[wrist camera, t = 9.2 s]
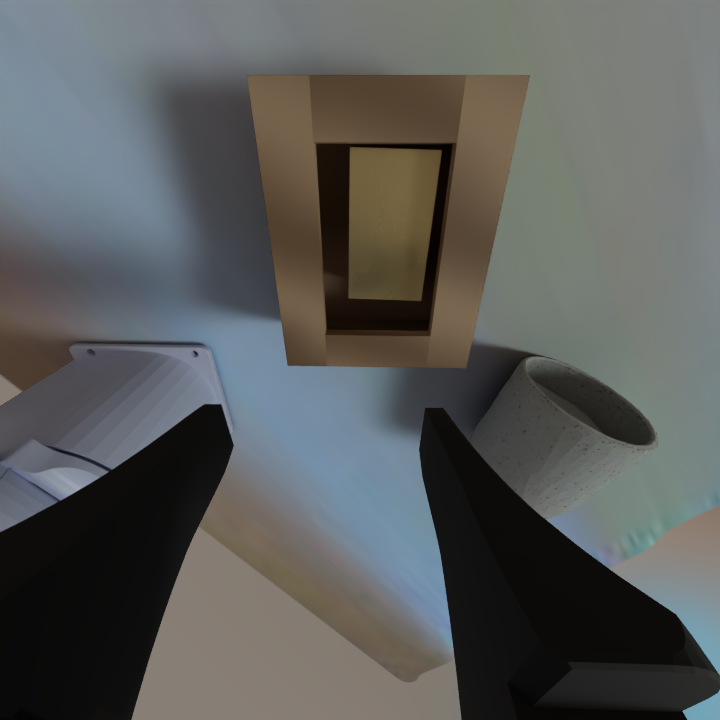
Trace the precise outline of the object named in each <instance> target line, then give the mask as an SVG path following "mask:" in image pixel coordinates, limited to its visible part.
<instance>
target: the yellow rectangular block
mask: <svg viewBox="0 0 720 720" xmlns="http://www.w3.org/2000/svg"><path fill="white" fill-rule="evenodd" d="M441 153H442V150H423V149H393V148H363V147H350V193H349V296H348V298H353V299H381V300H409V301H421V298H422V291H423V284H424V276H425V269H426V262H427V255H428V247H429V240H430V233H431V226H432V218H433V211H434V204H435V197H436V190H437V182H438V175H439V168H440V161H441Z"/></svg>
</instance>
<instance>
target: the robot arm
mask: <svg viewBox="0 0 720 720" xmlns="http://www.w3.org/2000/svg"><path fill="white" fill-rule="evenodd" d="M92 350H93V351H94V352H93V351H92ZM69 351H70V353H71V355H72V357H73V359H74V360H73V361H71V362H70V363H68V364H66V365H65V366H63V367H62V368H60V369H58V370H57V371H55V372H54V373H52V374H51V375H49V376H47V377H46V378H44V379H43V380H41V381H39V382H38V383H36V384H35V385H33V386H31V387H30V388H28V389H27V390H25V391H23V392H22V393H20V394H19V395H17V396H15V397H14V398H12V399H11V400H9V401H7V402H6V403H4V404H3V405H1V406H0V720H131V719H132V715H133V712H134V708H135V705H136V701H137V698H138V694H139V691H140V688H141V684H142V681H143V677H144V674H145V671H146V667H147V664H148V661H149V658H150V654H151V651H152V648H153V645H154V642H155V639H156V636H157V633H158V630H159V627H160V624H161V621H162V618H163V615H164V612H165V609H166V606H167V604H168V601H169V598H170V595H171V592H172V589H173V587H174V584H175V581H176V578H177V576H178V573H179V571H180V568H181V565H182V563H183V560H184V558H185V555H186V552H187V550H188V548H189V545H190V543H191V541H192V538H193V536H194V534H195V532H196V530H197V528H198V526H199V524H200V522H201V520H202V518H203V516H204V514H205V512H206V510H207V508H208V506H209V504H210V502H211V500H212V498H213V496H214V494H215V492H216V489H217V487H218V485H219V483H220V481H221V479H222V477H223V475H224V473H225V470H226V467H227V464H228V462H229V459H230V455H231V452H232V449H233V446H234V445H233V442H232V438H231V435H230V434H231V433H232V431H233V426H232V422H231V419H230V415H229V412H228V408H227V405H226V401H225V398H224V394H223V391H222V387H221V384H220V380H219V377H218V373H217V370H216V366H215V363H214V359H213V356H212V352H211V350H210V349H209V348H208V347H207V346H204V345H157V344H86V343H77V344H74V345H72V346H70V347H69ZM193 351H196V352H197V353H198V354H195V353H194V352H193ZM419 451H420V460H421V468H422V476H423V481H424V485H425V489H426V494H427V498H428V502H429V506H430V510H431V514H432V519H433V523H434V527H435V531H436V535H437V539H438V544H439V549H440V554H441V560H442V567H443V574H444V580H445V587H446V594H447V602H448V609H449V616H450V624H451V632H452V640H453V648H454V656H455V664H456V672H457V681H458V690H459V700H460V709H461V718H462V720H687V718H686V717H685V715H684V714H683V712H682V711H683V710H685V709H687V708H689V707H691V706H693V705H696V704H697V703H700V702H702V701H704V700H706V699H708V698H710V697H712V696H713V695H715V694H716V693H718V691H719V690H720V675H719V674H718V673H717V671H716V669H715V668H714V667H713V665H712V664H711V662H710V661H709V659H708V658H707V656H706V655H705V654H704V652H703V651H702V649H701V648H700V646H699V645H698V644H697V642H696V641H695V639H694V638H693V636H692V635H691V634H690V632H689V631H688V630H687V628H686V627H685V626H684V624H683V623H682V622H681V621H680V619H679V618H678V617H677V615H676V614H674V613H673V612H671V611H670V610H669V609H667V608H666V607H664V606H662V605H661V604H659V603H658V602H657V601H655V600H653V599H652V598H651V597H649V596H648V595H646V594H645V593H643V592H642V591H640V590H639V589H637V588H636V587H634V586H633V585H631V584H630V583H628V582H627V581H625V580H624V579H622V578H621V577H619V576H618V575H617V574H615V573H614V572H612V571H611V570H610V569H608V568H607V567H606V566H604V565H603V564H602V563H600V562H599V561H598V560H596V559H595V558H593V557H592V556H591V555H589V554H588V553H587V552H585V551H584V550H583V549H581V548H580V547H579V546H578V545H576V544H575V543H574V542H572V541H571V540H570V539H569V538H567V537H566V536H565V535H564V534H563V533H561V532H560V531H559V530H558V529H556V528H555V527H554V526H553V525H552V524H550V523H549V522H548V521H547V520H545V519H544V518H543V517H542V516H541V515H540V514H538V513H537V512H536V511H535V510H534V509H533V508H532V507H530V506H529V505H528V504H527V503H526V502H525V501H524V500H523V499H522V498H521V497H520V496H519V495H518V494H517V493H516V492H515V491H514V490H512V489H511V488H510V487H509V486H508V485H507V483H506V482H505V481H504V480H503V479H502V478H501V477H500V476H499V475H498V474H497V473H496V472H495V471H494V470H493V469H492V468H491V467H490V465H489V464H488V463H487V462H486V461H485V460H484V459H483V458H482V456H481V455H480V454H479V453H478V452H477V450H476V449H475V448H474V447H473V446H472V445H471V443H470V442H469V441H468V440H467V438H466V437H465V436H464V435H463V433H462V432H461V431H460V430H459V428H458V427H457V426H456V424H455V423H454V422H453V420H452V419H451V418H450V416H449V415H448V414H447V412H446V411H445V410H444V409H443V408H425V414H424V421H423V427H422V434H421V441H420V448H419Z"/></svg>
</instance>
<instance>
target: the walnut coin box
mask: <svg viewBox="0 0 720 720" xmlns="http://www.w3.org/2000/svg"><path fill="white" fill-rule="evenodd" d="M529 78H530V75H247V79H248V86H249V93H250V100H251V107H252V114H253V122H254V129H255V136H256V143H257V150H258V157H259V164H260V171H261V179H262V186H263V193H264V200H265V207H266V214H267V221H268V229H269V236H270V243H271V250H272V257H273V264H274V271H275V279H276V286H277V293H278V300H279V307H280V314H281V321H282V329H283V336H284V343H285V350H286V357H287V364H288V366H351V367H417V368H466V367H467V362H468V358H469V353H470V349H471V344H472V339H473V335H474V330H475V326H476V321H477V316H478V312H479V307H480V303H481V298H482V293H483V289H484V284H485V280H486V275H487V270H488V266H489V261H490V257H491V252H492V248H493V243H494V238H495V234H496V229H497V225H498V220H499V215H500V211H501V206H502V202H503V197H504V192H505V188H506V183H507V179H508V174H509V169H510V165H511V160H512V156H513V151H514V146H515V142H516V137H517V133H518V128H519V123H520V119H521V114H522V110H523V105H524V101H525V96H526V91H527V87H528V82H529ZM350 147H363V148H393V149H423V150H442V153H441V161H440V168H439V175H438V182H437V190H436V197H435V204H434V211H433V218H432V226H431V233H430V240H429V247H428V255H427V262H426V269H425V276H424V284H423V291H422V298H421V301H409V300H381V299H353V298H348V296H349V193H350Z"/></svg>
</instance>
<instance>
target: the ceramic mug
mask: <svg viewBox="0 0 720 720" xmlns="http://www.w3.org/2000/svg"><path fill="white" fill-rule="evenodd" d="M470 443H471V445H472V446H473V447H474V448H475V449H476V450H477V452H478V453H479V454H480V455H481V456H482V458H483V459H484V460H485V461H486V462H487V463H488V464H489V465H490V467H491V468H492V469H493V470H494V471H495V472H496V473H497V474H498V475H499V476H500V477H501V478H502V479H503V480H504V481H505V482H506V483H507V485H508V486H509V487H510V488H511V489H512V490H514V491H515V492H516V493H517V494H518V495H519V496H520V497H521V498H522V499H523V500H524V501H525V502H526V503H527V504H528V505H529V506H530V507H532V508H533V509H534V510H535V511H536V512H537V513H538V514H540V515H541V516H542V517H543V518H544V519H548V518H552V517H555V516H558V515H561V514H563V513H566V512H568V511H569V510H571V509H573V508H575V507H576V506H578V505H579V504H581V503H582V502H583V501H584V500H586V499H587V498H588V497H589V496H590V495H592V494H593V493H595V492H596V491H598V490H599V489H601V488H602V487H604V486H605V485H606V484H608V483H609V482H611V481H612V480H614V479H615V478H617V477H618V476H619V475H621V474H622V473H623V472H625V471H626V470H628V469H629V468H631V467H632V466H634V465H635V464H637V463H638V462H640V461H641V460H643V459H644V458H646V457H647V456H648V455H650V454H651V453H652V452H653V451H654V450H655V449H656V448H657V447H658V437H657V433H656V432H655V430H654V428H653V426H652V425H651V423H650V422H649V420H648V419H647V418H645V417H644V415H643V414H642V413H641V412H640V411H639V410H638V409H637V408H636V407H635V406H633V405H632V404H631V403H630V402H629V401H627V400H626V399H625V398H624V397H622V396H621V395H619V394H618V393H617V392H615V391H614V390H613V389H611V388H610V387H608V386H607V385H605V384H603V383H602V382H600V381H599V380H597V379H596V378H594V377H592V376H590V375H588V374H587V373H585V372H583V371H581V370H579V369H577V368H575V367H572V366H569V365H567V364H564V363H562V362H560V361H557V360H553V359H550V358H545V357H539V356H531V357H526V358H525V359H523V360H522V361H521V362H520V364H519V365H518V366H517V368H516V369H515V371H514V373H513V374H512V376H511V377H510V379H509V380H508V381H507V383H506V384H505V385H504V387H503V388H502V390H501V391H500V393H499V394H498V396H497V397H496V399H495V400H494V402H493V403H492V405H491V406H490V408H489V409H488V411H487V412H486V414H485V415H484V416H483V418H482V419H481V420H480V422H479V423H478V425H477V426H476V428H475V429H474V432H473V434H472V436H471V439H470Z"/></svg>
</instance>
